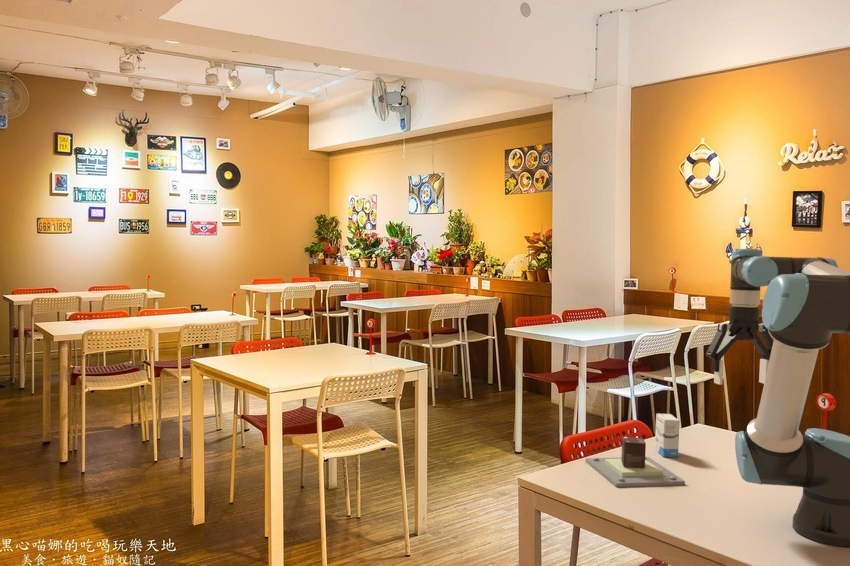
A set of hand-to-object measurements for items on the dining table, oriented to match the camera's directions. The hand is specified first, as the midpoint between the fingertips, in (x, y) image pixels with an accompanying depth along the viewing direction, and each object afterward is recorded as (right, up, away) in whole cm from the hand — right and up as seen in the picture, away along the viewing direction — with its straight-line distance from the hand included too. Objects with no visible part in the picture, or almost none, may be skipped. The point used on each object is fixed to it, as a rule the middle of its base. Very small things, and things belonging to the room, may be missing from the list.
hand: (740, 383), depth 192 cm
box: (-26, -25, +11) cm, 38 cm away
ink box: (-10, -27, +30) cm, 42 cm away
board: (-26, -27, +11) cm, 39 cm away
